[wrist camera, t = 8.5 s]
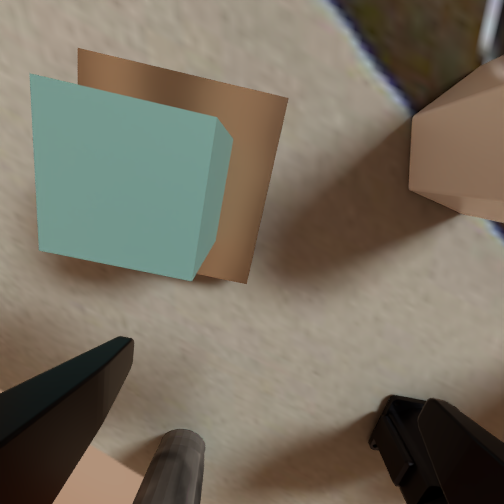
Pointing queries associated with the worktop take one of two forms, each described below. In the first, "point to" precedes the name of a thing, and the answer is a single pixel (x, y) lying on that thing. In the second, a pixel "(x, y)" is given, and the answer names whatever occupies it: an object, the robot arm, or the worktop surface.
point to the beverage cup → (174, 471)
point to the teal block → (126, 178)
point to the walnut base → (238, 126)
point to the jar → (463, 145)
